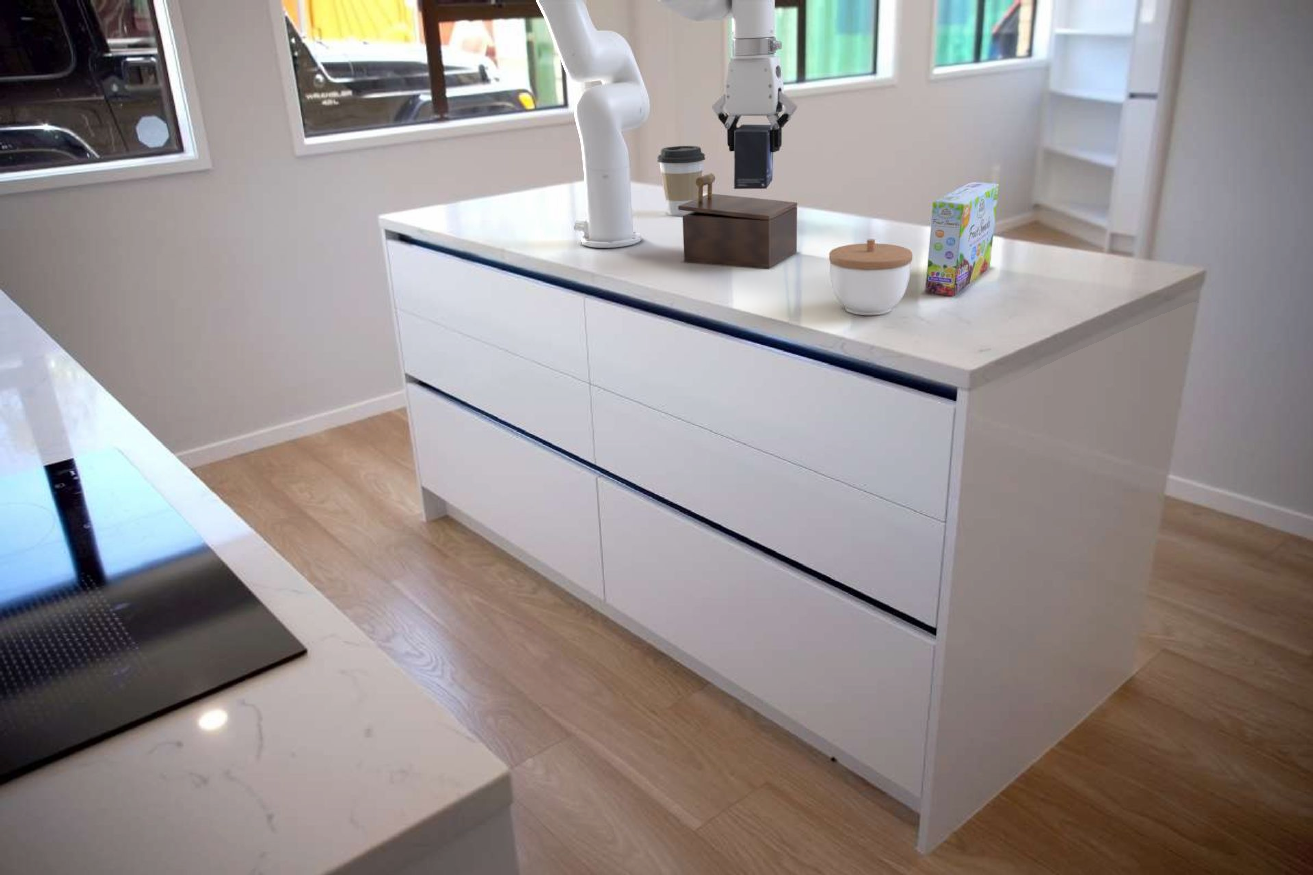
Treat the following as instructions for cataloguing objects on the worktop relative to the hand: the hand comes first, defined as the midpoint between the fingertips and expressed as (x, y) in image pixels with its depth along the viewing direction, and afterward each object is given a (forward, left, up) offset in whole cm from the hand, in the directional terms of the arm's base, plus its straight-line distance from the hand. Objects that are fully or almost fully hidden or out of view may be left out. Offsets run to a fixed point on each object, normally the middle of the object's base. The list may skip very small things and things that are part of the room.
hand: (754, 150), depth 185 cm
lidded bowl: (+31, -26, -20) cm, 45 cm away
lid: (-3, 0, -11) cm, 11 cm away
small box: (0, 0, -6) cm, 6 cm away
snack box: (+40, -4, -20) cm, 45 cm away
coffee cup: (-35, +37, -20) cm, 55 cm away
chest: (-3, 0, -20) cm, 20 cm away
